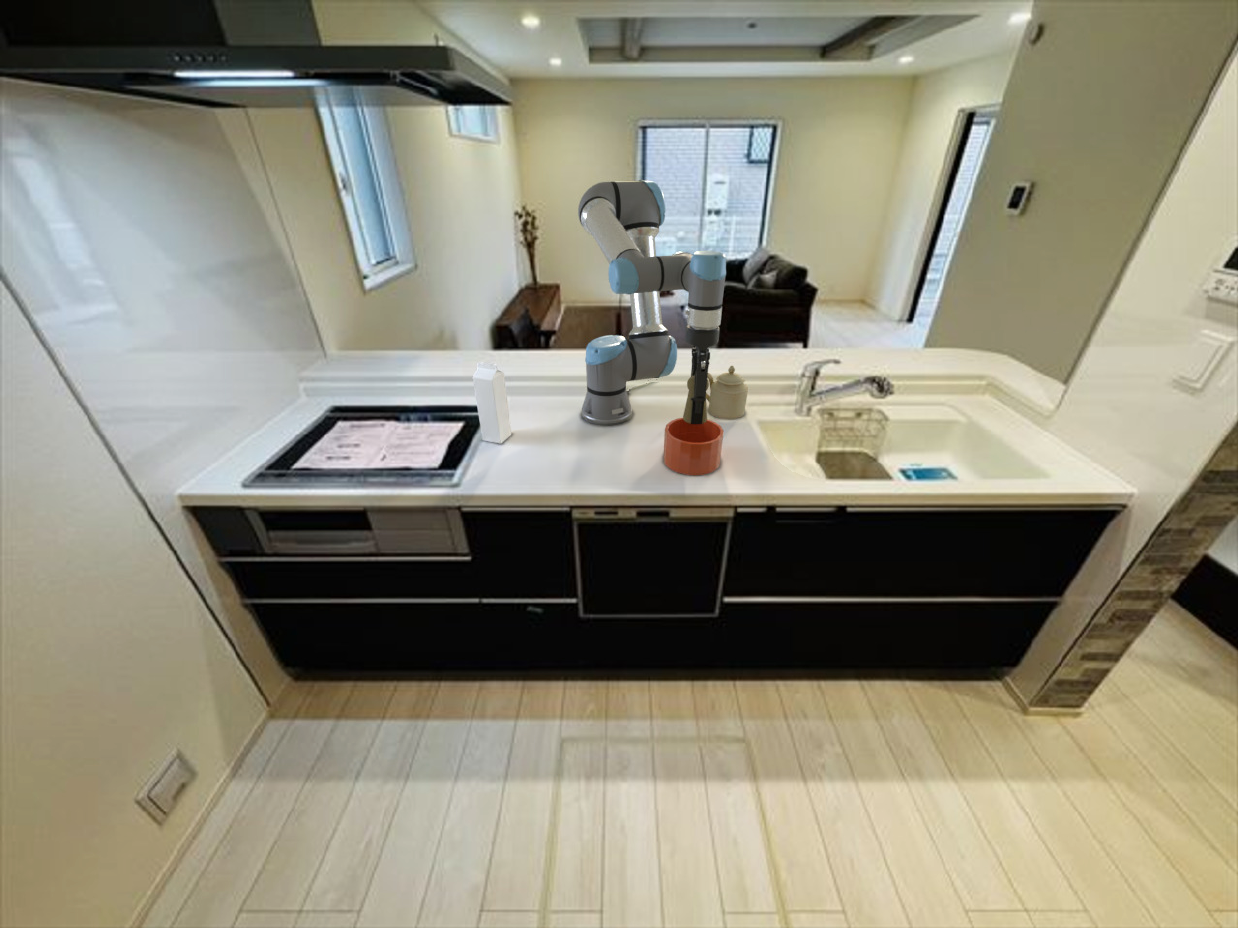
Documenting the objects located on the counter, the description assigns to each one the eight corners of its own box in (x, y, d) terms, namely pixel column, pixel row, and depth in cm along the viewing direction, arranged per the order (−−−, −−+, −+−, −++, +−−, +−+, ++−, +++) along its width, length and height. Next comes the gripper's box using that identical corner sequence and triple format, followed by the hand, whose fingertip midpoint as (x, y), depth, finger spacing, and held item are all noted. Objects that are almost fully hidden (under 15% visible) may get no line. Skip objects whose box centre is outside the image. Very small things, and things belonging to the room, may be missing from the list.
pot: (662, 445, 142) (664, 416, 137) (716, 447, 141) (720, 417, 136) (664, 474, 129) (665, 443, 125) (723, 476, 129) (727, 444, 124)
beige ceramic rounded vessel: (695, 417, 157) (699, 370, 149) (696, 402, 166) (699, 357, 158) (745, 420, 155) (752, 373, 147) (743, 405, 164) (749, 359, 156)
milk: (493, 431, 149) (483, 357, 138) (512, 434, 148) (502, 360, 136) (482, 440, 144) (470, 365, 133) (501, 444, 143) (490, 368, 131)
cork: (706, 425, 126) (710, 383, 120) (681, 422, 127) (684, 381, 121) (707, 414, 131) (711, 373, 125) (684, 412, 132) (687, 371, 126)
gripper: (683, 313, 125) (678, 401, 137) (689, 338, 109) (682, 435, 121) (715, 314, 125) (706, 401, 137) (725, 339, 108) (714, 436, 121)
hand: (695, 417), depth 129 cm, fingers closed on cork, 6 cm apart
